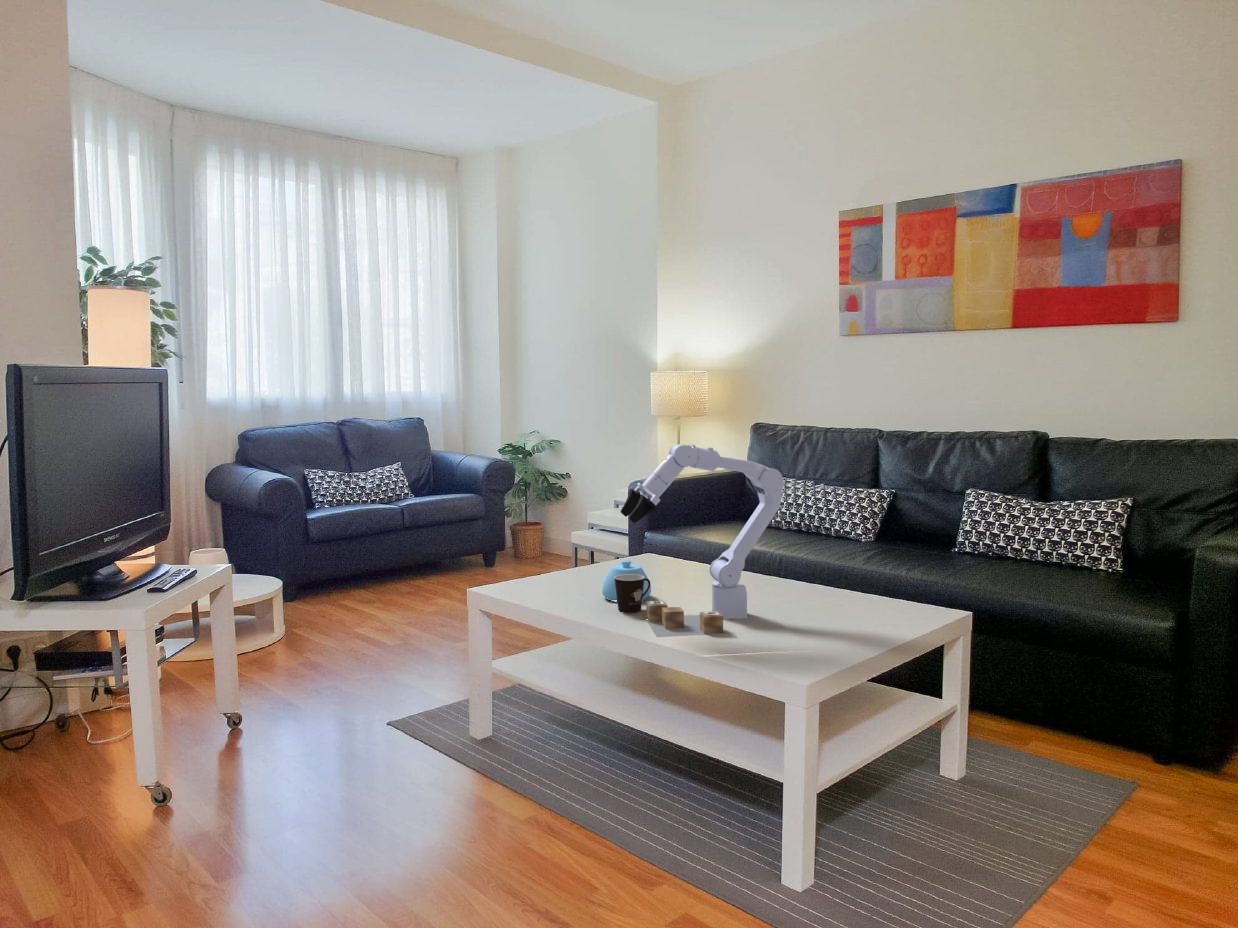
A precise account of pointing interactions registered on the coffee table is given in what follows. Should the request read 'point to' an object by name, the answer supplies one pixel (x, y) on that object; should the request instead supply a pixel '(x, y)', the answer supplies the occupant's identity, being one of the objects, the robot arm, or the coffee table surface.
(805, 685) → the coffee table surface
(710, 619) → the labelled block
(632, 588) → the coffee mug
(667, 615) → the plain block
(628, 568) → the sugar bowl
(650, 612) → the labelled block
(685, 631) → the grey mat
